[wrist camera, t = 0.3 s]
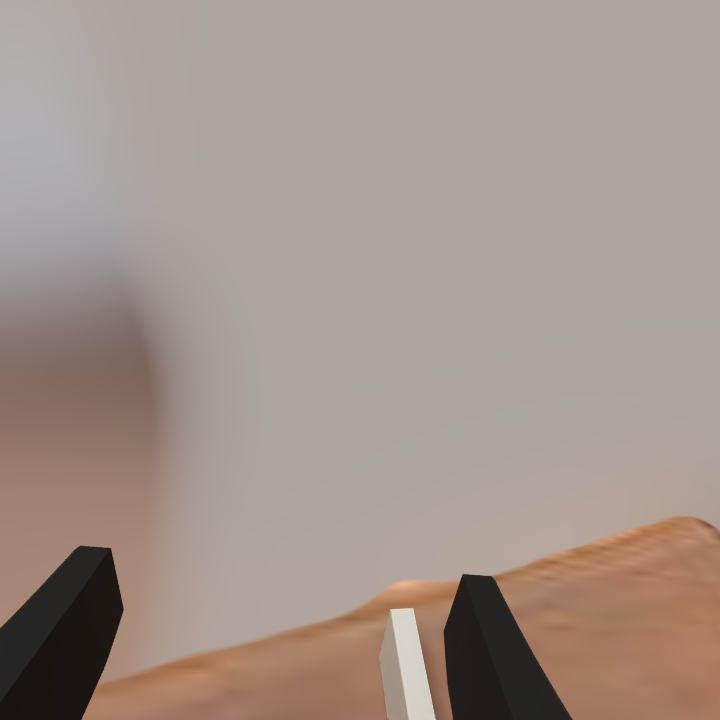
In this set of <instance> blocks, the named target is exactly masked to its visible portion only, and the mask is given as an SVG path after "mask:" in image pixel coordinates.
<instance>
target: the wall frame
mask: <svg viewBox="0 0 720 720" xmlns="http://www.w3.org/2000/svg"><path fill="white" fill-rule="evenodd" d="M379 660H380V668H381V675H382V682H383V690H384V697H385V704H386V711H387V719H388V720H436V719H435V714H434V709H433V705H432V700H431V695H430V690H429V685H428V680H427V675H426V670H425V665H424V660H423V655H422V650H421V645H420V640H419V636H418V631H417V626H416V621H415V616H414V611H413V608H407V609H390V614H389V618H388V622H387V626H386V630H385V634H384V639H383V643H382V647H381V651H380V655H379Z"/></svg>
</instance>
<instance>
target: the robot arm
mask: <svg viewBox="0 0 720 720" xmlns="http://www.w3.org/2000/svg"><path fill="white" fill-rule="evenodd" d="M123 610H124V609H123V603H122V599H121V594H120V589H119V585H118V580H117V575H116V570H115V565H114V561H113V557H112V551H111V548H102V547H89V546H79V547H78V548H76V549H75V550H74V551H73V552H72V553H71V554H70V556H69V557H68V558H67V559H66V560H65V561H64V562H63V563H62V564H61V565H60V566H59V567H58V568H57V570H56V571H55V572H54V573H53V574H52V575H51V576H50V577H49V578H48V579H47V580H46V582H45V583H44V584H43V585H42V586H41V587H40V588H39V589H38V590H37V591H36V592H35V593H34V594H33V595H32V596H31V597H30V599H28V600H27V601H26V603H25V604H24V605H23V606H22V607H21V608H20V609H19V610H18V611H17V612H16V613H15V614H14V615H13V616H12V617H11V618H10V619H9V620H8V621H7V622H6V623H5V624H4V625H3V626H2V627H1V628H0V720H81V719H82V717H83V715H84V713H85V710H86V708H87V706H88V704H89V701H90V699H91V697H92V695H93V692H94V690H95V688H96V686H97V683H98V681H99V679H100V676H101V674H102V672H103V670H104V667H105V665H106V662H107V659H108V657H109V653H110V651H111V648H112V645H113V642H114V639H115V635H116V633H117V629H118V626H119V623H120V620H121V616H122V614H123ZM444 643H445V658H446V671H447V683H448V690H449V696H450V702H451V708H452V714H453V720H572V718H571V716H570V715H569V713H568V712H567V710H566V708H565V707H564V705H563V704H562V702H561V700H560V699H559V697H558V695H557V694H556V692H555V690H554V688H553V687H552V685H551V683H550V682H549V680H548V678H547V677H546V675H545V673H544V671H543V670H542V668H541V666H540V665H539V663H538V661H537V659H536V658H535V656H534V654H533V652H532V650H531V649H530V647H529V645H528V643H527V641H526V639H525V638H524V636H523V634H522V632H521V630H520V628H519V627H518V625H517V623H516V621H515V619H514V617H513V615H512V613H511V611H510V609H509V607H508V605H507V603H506V601H505V599H504V597H503V595H502V593H501V591H500V589H499V587H498V585H497V583H496V581H495V580H494V579H493V578H492V576H481V575H468V574H463V575H462V578H461V581H460V584H459V587H458V590H457V593H456V596H455V599H454V602H453V605H452V608H451V611H450V614H449V617H448V620H447V623H446V626H445V629H444Z"/></svg>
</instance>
